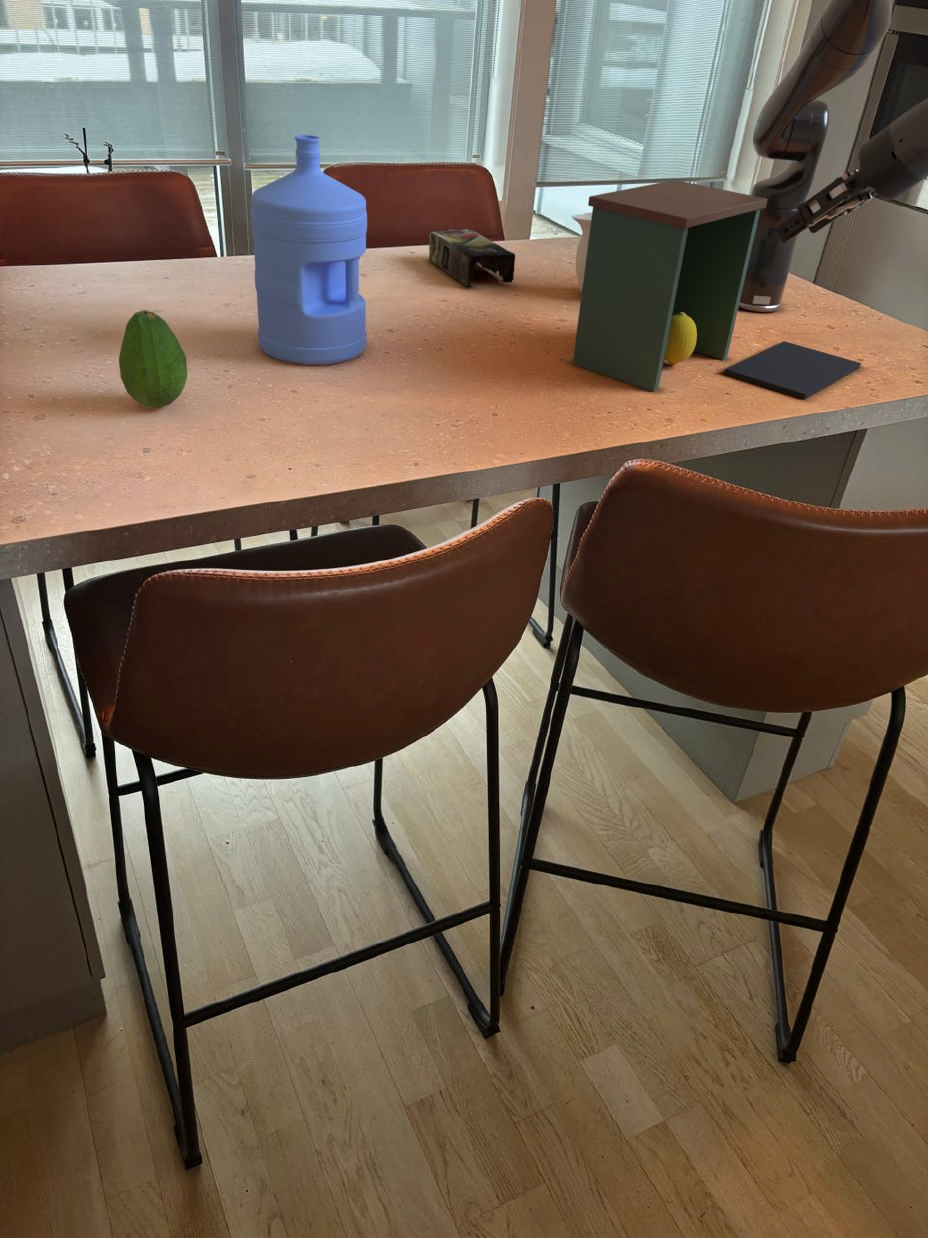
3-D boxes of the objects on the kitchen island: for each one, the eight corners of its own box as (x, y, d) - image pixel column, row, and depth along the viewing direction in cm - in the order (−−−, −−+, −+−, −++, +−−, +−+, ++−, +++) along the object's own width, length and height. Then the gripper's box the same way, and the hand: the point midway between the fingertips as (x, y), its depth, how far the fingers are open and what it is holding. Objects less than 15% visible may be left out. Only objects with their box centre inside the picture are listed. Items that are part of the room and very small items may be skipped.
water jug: (238, 354, 136) (222, 137, 120) (291, 324, 148) (283, 123, 132) (337, 374, 132) (334, 152, 116) (383, 341, 144) (386, 136, 128)
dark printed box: (423, 258, 184) (425, 225, 181) (469, 257, 188) (472, 224, 184) (466, 290, 169) (468, 254, 166) (515, 287, 173) (518, 252, 170)
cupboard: (648, 333, 155) (675, 179, 142) (731, 358, 148) (767, 198, 134) (567, 363, 141) (588, 196, 128) (654, 393, 133) (687, 218, 120)
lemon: (669, 373, 140) (679, 319, 136) (646, 361, 144) (655, 308, 140) (698, 369, 142) (709, 316, 138) (675, 357, 146) (685, 304, 142)
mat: (782, 345, 154) (784, 340, 154) (859, 367, 148) (861, 362, 147) (723, 373, 142) (724, 368, 141) (804, 399, 135) (806, 394, 134)
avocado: (129, 421, 115) (115, 322, 108) (121, 397, 121) (106, 302, 114) (196, 414, 118) (186, 317, 111) (185, 391, 123) (175, 298, 117)
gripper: (917, 116, 116) (804, 199, 128) (873, 123, 107) (756, 212, 119) (946, 171, 116) (830, 248, 129) (904, 183, 107) (784, 265, 119)
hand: (795, 231), depth 124 cm, fingers open, 8 cm apart
